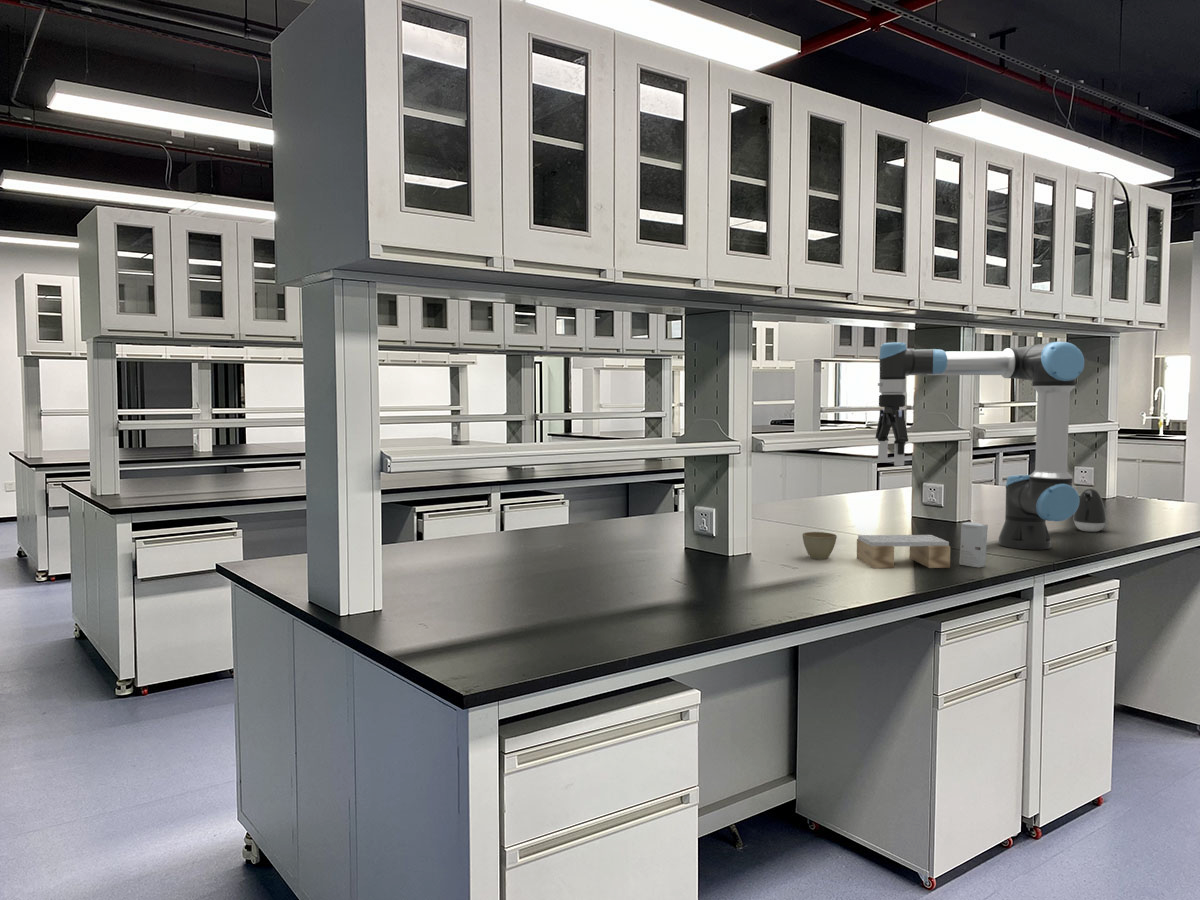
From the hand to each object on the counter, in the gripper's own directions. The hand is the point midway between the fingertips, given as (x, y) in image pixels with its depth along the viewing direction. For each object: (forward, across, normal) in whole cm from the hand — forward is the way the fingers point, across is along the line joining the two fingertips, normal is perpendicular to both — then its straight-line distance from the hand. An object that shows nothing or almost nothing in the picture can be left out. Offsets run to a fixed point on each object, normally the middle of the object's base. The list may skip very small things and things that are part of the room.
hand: (890, 463), depth 252 cm
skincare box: (+28, +17, +18) cm, 37 cm away
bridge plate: (+22, +13, -1) cm, 25 cm away
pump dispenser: (+28, -42, +88) cm, 102 cm away
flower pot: (+28, +5, -23) cm, 37 cm away
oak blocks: (+28, +13, -1) cm, 31 cm away
